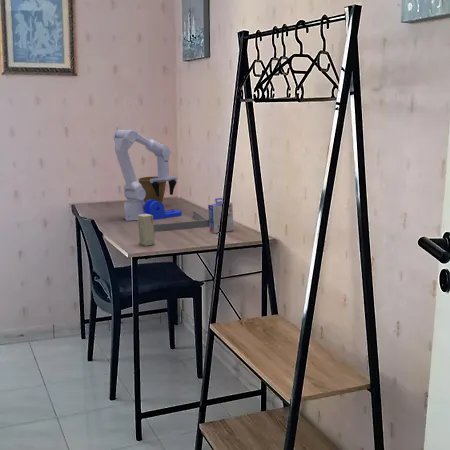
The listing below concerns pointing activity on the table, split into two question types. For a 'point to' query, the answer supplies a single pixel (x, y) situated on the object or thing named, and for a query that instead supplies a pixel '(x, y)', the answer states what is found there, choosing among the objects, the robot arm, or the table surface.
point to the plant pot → (152, 189)
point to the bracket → (159, 210)
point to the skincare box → (146, 229)
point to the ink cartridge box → (216, 214)
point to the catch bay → (184, 223)
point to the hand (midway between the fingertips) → (164, 195)
